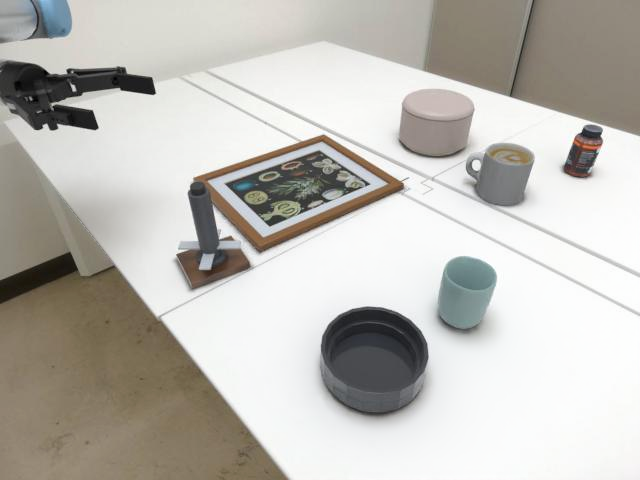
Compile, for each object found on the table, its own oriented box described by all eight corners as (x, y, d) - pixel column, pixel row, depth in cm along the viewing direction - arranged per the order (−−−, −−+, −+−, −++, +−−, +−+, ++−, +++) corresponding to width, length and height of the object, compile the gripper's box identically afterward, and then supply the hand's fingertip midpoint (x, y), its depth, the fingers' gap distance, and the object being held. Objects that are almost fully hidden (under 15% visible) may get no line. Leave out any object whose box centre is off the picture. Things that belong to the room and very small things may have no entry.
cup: (426, 322, 74) (435, 277, 68) (445, 293, 79) (455, 249, 72) (472, 344, 70) (487, 299, 64) (489, 312, 75) (504, 268, 69)
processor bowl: (358, 436, 59) (360, 413, 56) (303, 354, 69) (302, 331, 66) (444, 385, 65) (451, 361, 61) (382, 316, 75) (385, 293, 71)
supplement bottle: (595, 176, 108) (614, 132, 101) (573, 179, 107) (590, 135, 100) (579, 164, 113) (596, 121, 105) (557, 166, 112) (573, 123, 105)
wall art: (404, 183, 104) (259, 246, 87) (403, 188, 105) (259, 252, 88) (323, 133, 123) (192, 177, 106) (323, 138, 124) (193, 183, 107)
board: (192, 289, 80) (190, 283, 79) (177, 260, 86) (175, 254, 85) (250, 267, 84) (249, 261, 83) (232, 241, 90) (231, 235, 89)
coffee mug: (529, 192, 103) (543, 152, 97) (509, 211, 97) (522, 170, 91) (476, 171, 110) (485, 133, 104) (454, 188, 105) (462, 148, 98)
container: (384, 137, 125) (388, 95, 117) (435, 122, 131) (442, 82, 124) (427, 165, 112) (434, 121, 105) (481, 148, 119) (491, 105, 112)
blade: (238, 278, 80) (225, 204, 70) (175, 278, 80) (154, 205, 70) (245, 238, 88) (235, 167, 79) (189, 239, 88) (171, 168, 79)
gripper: (80, 82, 86) (177, 96, 80) (-40, 139, 68) (73, 163, 62) (66, 40, 81) (168, 51, 75) (-68, 90, 63) (53, 110, 57)
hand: (125, 102), depth 69 cm, fingers open, 13 cm apart
